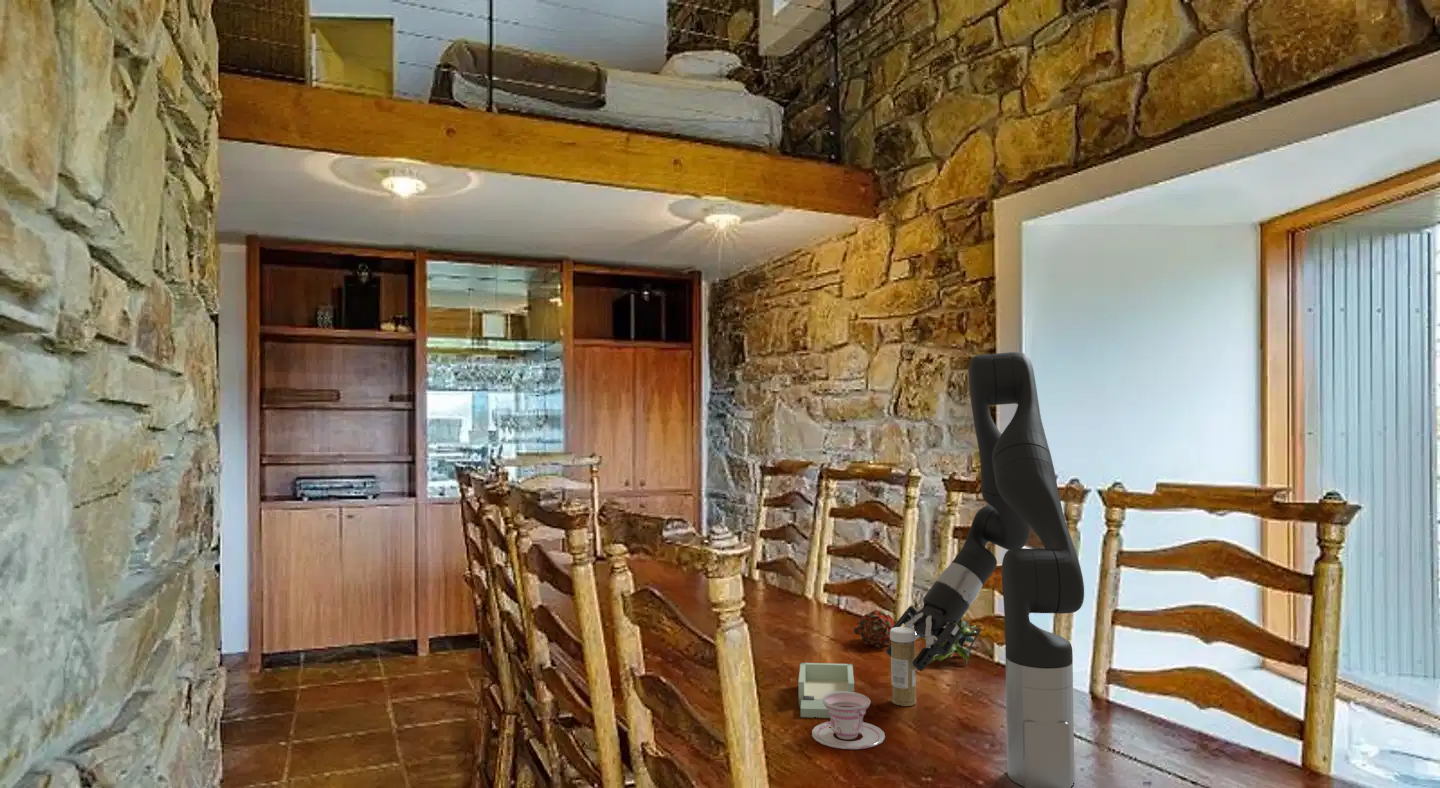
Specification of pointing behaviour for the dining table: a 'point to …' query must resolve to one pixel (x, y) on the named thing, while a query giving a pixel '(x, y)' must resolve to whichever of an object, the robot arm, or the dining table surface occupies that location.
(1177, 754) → the dining table surface
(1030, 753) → the robot arm
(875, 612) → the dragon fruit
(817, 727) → the teacup
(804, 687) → the crate
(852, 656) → the dining table surface
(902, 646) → the sprinkles bottle
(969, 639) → the passion flower
